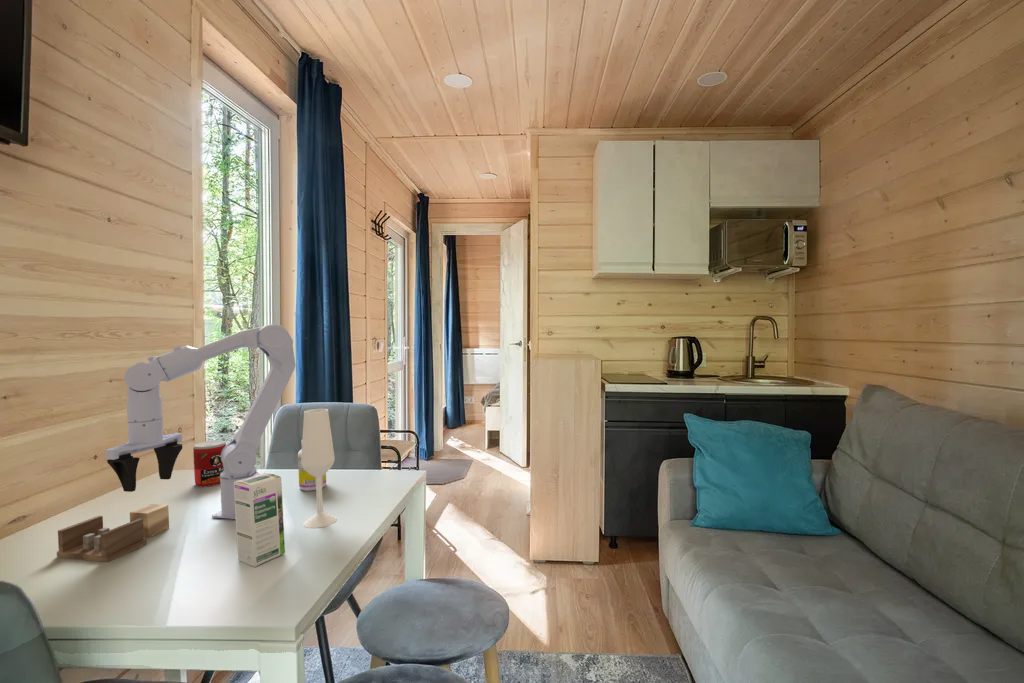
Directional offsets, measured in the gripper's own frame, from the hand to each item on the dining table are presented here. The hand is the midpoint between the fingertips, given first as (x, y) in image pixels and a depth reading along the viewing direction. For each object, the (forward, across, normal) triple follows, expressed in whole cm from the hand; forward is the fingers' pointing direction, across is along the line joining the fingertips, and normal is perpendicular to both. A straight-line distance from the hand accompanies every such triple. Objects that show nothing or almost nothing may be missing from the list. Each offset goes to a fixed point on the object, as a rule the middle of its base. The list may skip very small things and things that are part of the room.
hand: (148, 484), depth 96 cm
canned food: (+10, -30, -15) cm, 35 cm away
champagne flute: (+10, -10, +33) cm, 36 cm away
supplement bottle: (+10, -30, +17) cm, 36 cm away
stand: (+10, +8, -1) cm, 13 cm away
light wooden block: (+10, 0, 0) cm, 10 cm away
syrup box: (+10, +6, +32) cm, 34 cm away
